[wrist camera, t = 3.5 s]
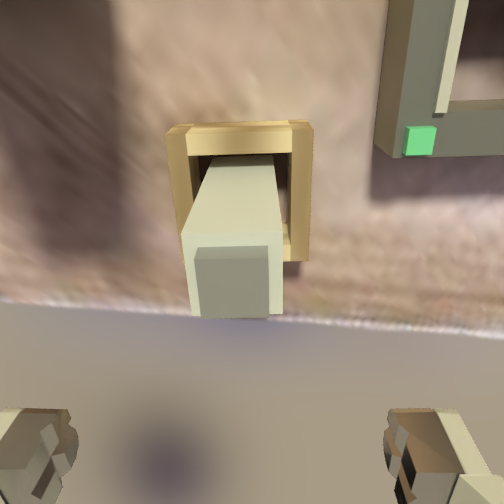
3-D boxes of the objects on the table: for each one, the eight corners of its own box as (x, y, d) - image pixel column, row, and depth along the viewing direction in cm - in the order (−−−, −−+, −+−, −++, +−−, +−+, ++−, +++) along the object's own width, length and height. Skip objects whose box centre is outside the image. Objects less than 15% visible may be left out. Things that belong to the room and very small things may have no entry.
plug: (217, 212, 27) (188, 330, 16) (213, 157, 25) (175, 245, 14) (273, 210, 27) (283, 328, 16) (272, 155, 25) (284, 242, 14)
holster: (190, 240, 28) (182, 263, 25) (176, 124, 24) (164, 135, 21) (303, 237, 28) (308, 260, 25) (306, 119, 24) (313, 129, 21)
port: (373, 142, 25) (395, 161, 21) (397, -69, 20) (433, -99, 16) (541, 137, 24) (597, 154, 20) (610, -79, 19) (703, -113, 15)
